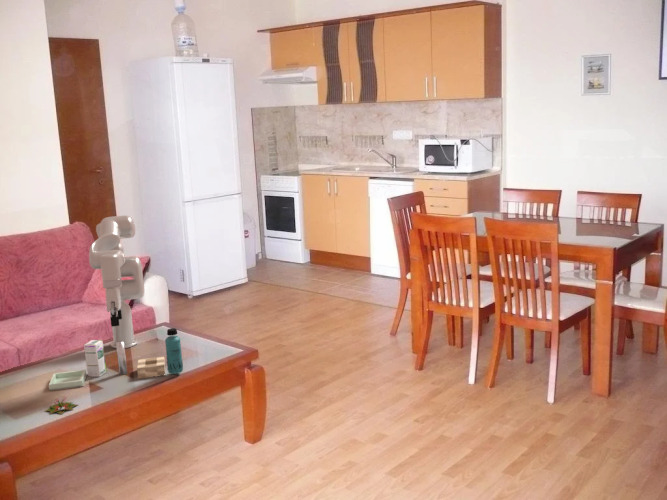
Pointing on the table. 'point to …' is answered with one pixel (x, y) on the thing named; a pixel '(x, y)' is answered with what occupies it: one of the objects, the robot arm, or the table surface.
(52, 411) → the lily flower
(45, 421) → the table surface
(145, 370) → the bore block
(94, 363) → the syrup box
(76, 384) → the tray
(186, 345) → the table surface
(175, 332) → the beverage bottle
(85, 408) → the table surface
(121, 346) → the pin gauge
